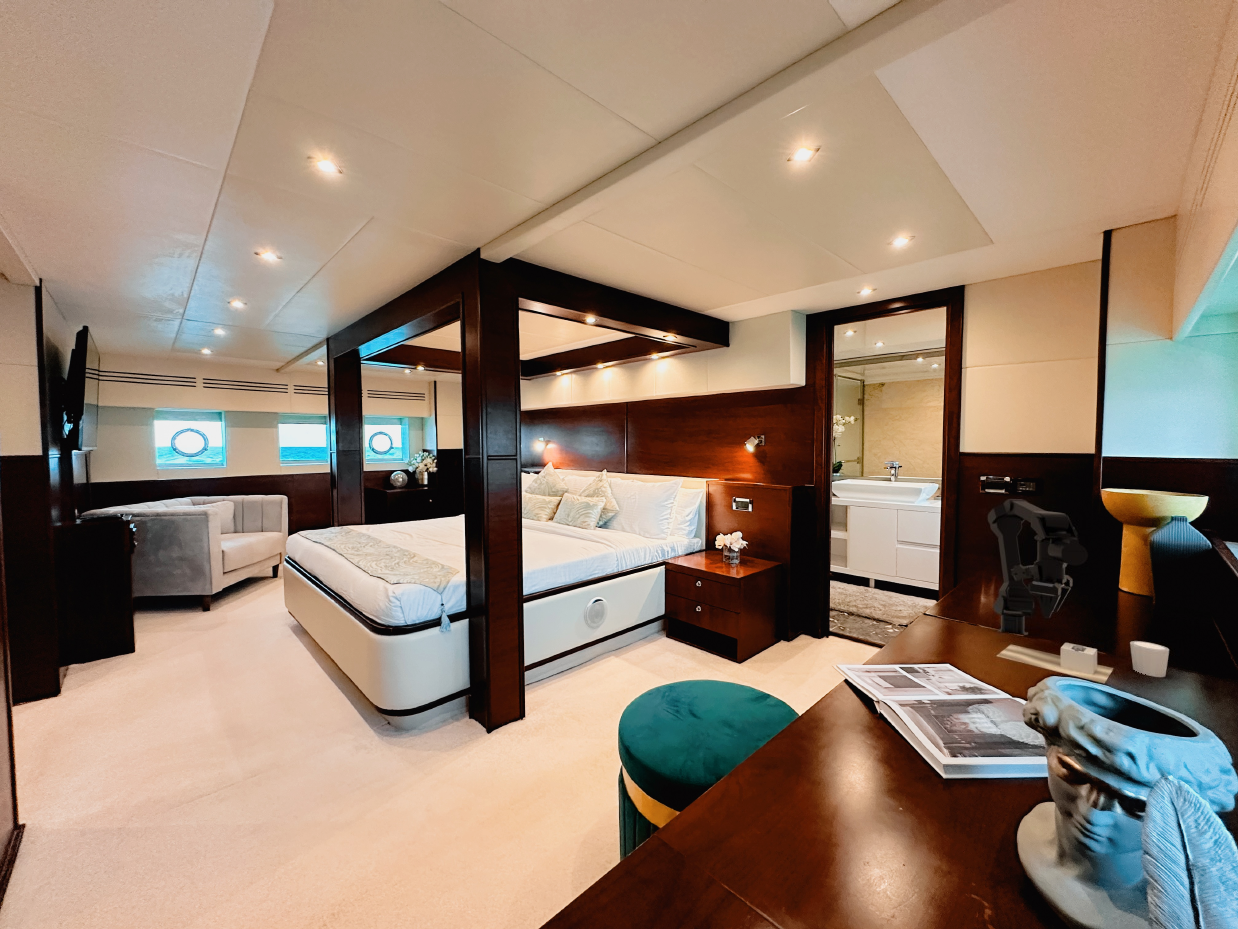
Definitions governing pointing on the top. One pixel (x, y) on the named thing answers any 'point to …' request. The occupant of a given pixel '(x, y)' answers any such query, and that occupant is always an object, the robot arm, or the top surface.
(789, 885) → the top surface
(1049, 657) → the maple board
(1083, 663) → the box
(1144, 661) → the shot glass
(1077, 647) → the post
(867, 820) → the top surface
